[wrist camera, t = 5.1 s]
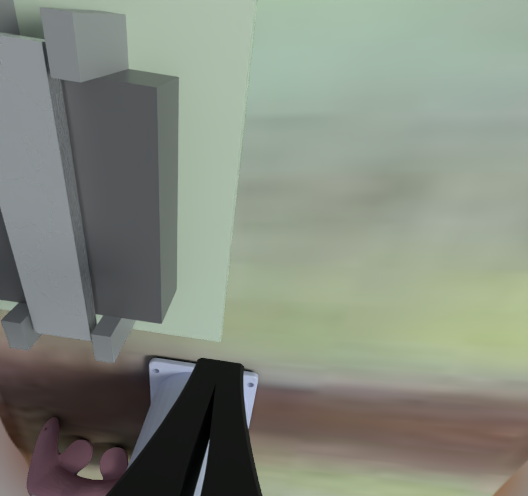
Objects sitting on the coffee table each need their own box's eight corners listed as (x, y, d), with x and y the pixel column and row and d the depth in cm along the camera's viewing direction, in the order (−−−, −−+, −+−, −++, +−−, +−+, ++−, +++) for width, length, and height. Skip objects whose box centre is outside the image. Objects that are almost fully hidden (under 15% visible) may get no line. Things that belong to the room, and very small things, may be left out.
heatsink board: (222, 335, 25) (207, 399, 21) (-11, 300, 25) (-74, 358, 20) (259, -24, 14) (245, -44, 10) (-150, -92, 14) (-343, -141, 10)
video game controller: (58, 418, 35) (20, 506, 31) (43, 413, 31) (-4, 514, 27) (160, 440, 35) (134, 528, 32) (157, 438, 31) (127, 539, 28)
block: (98, 330, 20) (91, 340, 19) (43, 322, 20) (35, 332, 19) (55, 41, 13) (41, 41, 12) (-32, 27, 12) (-50, 27, 12)
